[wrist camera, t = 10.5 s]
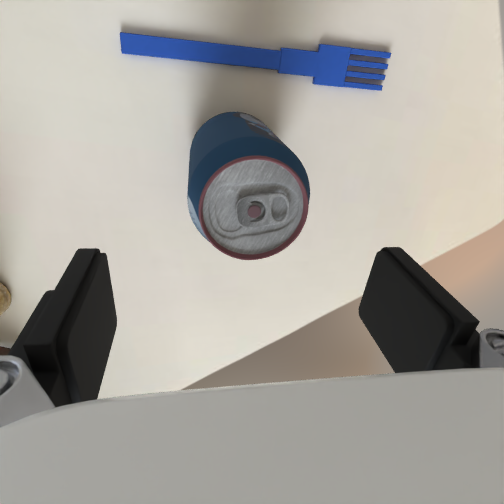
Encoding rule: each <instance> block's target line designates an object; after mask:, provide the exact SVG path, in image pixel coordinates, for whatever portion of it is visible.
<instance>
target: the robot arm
mask: <svg viewBox="0 0 504 504" xmlns="http://www.w3.org/2000/svg"><path fill="white" fill-rule="evenodd" d="M359 316H360V318H361V320H362V321H363V323H364V324H365V326H366V328H367V329H368V331H369V332H370V334H371V336H372V337H373V339H374V340H375V342H376V343H377V345H378V346H379V348H380V350H381V351H382V353H383V354H384V356H385V358H386V359H387V361H388V362H389V364H390V365H391V367H392V368H393V370H394V372H395V373H392V374H379V375H364V376H351V377H339V378H325V379H312V380H300V381H287V382H276V383H263V384H251V385H239V386H228V387H216V388H204V389H192V390H180V391H169V392H159V393H148V394H138V395H129V396H120V397H112V398H104V399H97V398H98V394H99V390H100V386H101V383H102V379H103V375H104V372H105V368H106V364H107V361H108V357H109V353H110V349H111V346H112V342H113V338H114V335H115V331H116V326H117V316H116V310H115V304H114V298H113V291H112V285H111V279H110V273H109V266H108V260H107V255H106V253H100V250H99V249H78V250H77V251H76V253H75V255H74V257H73V258H72V260H71V262H70V264H69V265H68V267H67V269H66V271H65V272H64V274H63V276H62V278H61V279H60V281H59V283H58V285H57V286H56V288H55V290H49V291H47V292H46V293H45V294H44V295H43V297H42V298H41V300H40V302H39V303H38V305H37V307H36V308H35V310H34V312H33V313H32V315H31V317H30V318H29V320H28V322H27V323H26V325H25V327H24V328H23V330H22V332H21V333H20V335H19V336H18V338H17V340H16V341H15V343H14V345H13V346H12V348H11V350H10V351H9V353H8V355H7V356H0V504H504V331H503V330H499V329H491V328H490V329H484V330H483V331H481V332H480V334H479V333H478V332H477V331H476V330H475V329H476V327H477V325H478V324H479V321H478V320H477V319H476V318H475V317H474V316H473V315H472V314H471V313H470V312H469V311H468V310H467V309H466V308H464V307H463V306H462V305H461V304H460V303H459V302H458V301H457V300H456V299H455V298H454V297H453V296H452V295H451V294H449V292H448V291H446V290H445V289H444V288H443V287H442V286H441V285H440V284H439V283H438V282H437V281H436V280H435V279H434V278H432V277H431V276H430V275H429V274H428V273H427V272H426V271H425V270H424V269H423V268H422V267H421V266H420V265H419V264H418V263H417V262H415V261H414V260H413V259H412V258H411V257H410V256H409V255H408V254H407V253H406V252H405V251H404V250H403V249H401V248H400V247H384V248H382V249H381V251H379V252H378V253H377V254H376V257H375V260H374V263H373V266H372V269H371V272H370V275H369V278H368V281H367V284H366V287H365V290H364V294H363V297H362V300H361V303H360V306H359Z"/></svg>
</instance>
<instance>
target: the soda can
mask: <svg viewBox="0 0 504 504" xmlns="http://www.w3.org/2000/svg"><path fill="white" fill-rule="evenodd" d="M309 198H310V186H309V180H308V176H307V173H306V171H305V168H304V166H303V165H302V163H301V161H300V160H299V159H298V157H297V156H296V155H295V154H294V153H293V152H292V151H291V150H290V149H289V148H288V147H287V146H286V145H285V144H284V143H283V142H282V141H281V140H280V139H279V138H278V137H277V136H276V135H275V134H274V133H273V132H272V131H271V130H270V129H269V128H268V127H267V126H266V125H265V124H264V123H263V122H261V121H260V120H259V119H257V118H256V117H254V116H252V115H249V114H246V113H242V112H227V113H222V114H219V115H217V116H215V117H213V118H211V119H209V120H208V121H207V122H206V123H204V124H203V125H202V126H201V128H200V129H199V130H198V132H197V133H196V135H195V137H194V139H193V141H192V145H191V149H190V161H189V178H188V196H187V199H188V208H189V213H190V216H191V218H192V221H193V223H194V225H195V226H196V228H197V229H198V231H199V232H200V233H201V234H202V236H203V237H204V238H206V239H207V240H208V241H209V242H210V243H211V244H212V245H213V246H214V247H216V248H217V249H218V250H219V251H221V252H223V253H224V254H226V255H228V256H231V257H234V258H237V259H242V260H256V259H262V258H266V257H269V256H272V255H274V254H277V253H279V252H280V251H282V250H284V249H285V248H286V247H288V246H289V245H290V244H291V243H292V242H293V241H294V240H295V239H296V238H297V236H298V235H299V234H300V232H301V230H302V228H303V226H304V224H305V222H306V218H307V214H308V204H309Z"/></svg>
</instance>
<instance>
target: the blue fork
mask: <svg viewBox="0 0 504 504" xmlns="http://www.w3.org/2000/svg"><path fill="white" fill-rule="evenodd" d="M120 40H121V51H122V53H123V54H133V55H142V56H152V57H161V58H171V59H180V60H190V61H199V62H209V63H218V64H228V65H237V66H247V67H256V68H266V69H275V70H278V73H284V74H294V75H303V76H313V77H314V78H313V84H317V85H328V86H338V87H351V88H361V89H371V90H382V87H383V86H382V85H374V84H364V83H354V82H345V76H349V77H359V78H368V79H378V80H384V79H385V75H381V74H372V73H363V72H354V71H347V67H348V65H351V66H360V67H369V68H378V69H387V67H388V64H384V63H375V62H367V61H358V60H349V57H350V54H355V55H363V56H372V57H380V58H390V56H391V53H389V52H380V51H372V50H364V49H356V48H350V47H342V46H333V45H325V44H319V47H318V52H315V51H306V50H298V49H289V48H281V50H280V51H278V50H269V49H261V48H252V47H243V46H235V45H226V44H217V43H209V42H200V41H191V40H183V39H174V38H165V37H157V36H148V35H139V34H131V33H122V32H120Z"/></svg>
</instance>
